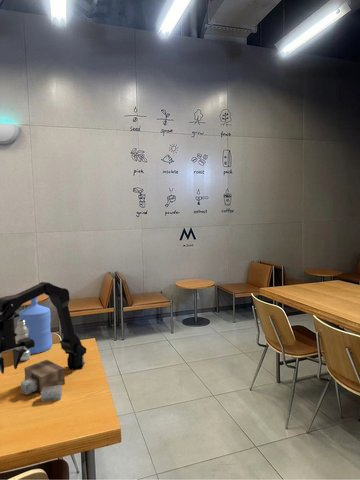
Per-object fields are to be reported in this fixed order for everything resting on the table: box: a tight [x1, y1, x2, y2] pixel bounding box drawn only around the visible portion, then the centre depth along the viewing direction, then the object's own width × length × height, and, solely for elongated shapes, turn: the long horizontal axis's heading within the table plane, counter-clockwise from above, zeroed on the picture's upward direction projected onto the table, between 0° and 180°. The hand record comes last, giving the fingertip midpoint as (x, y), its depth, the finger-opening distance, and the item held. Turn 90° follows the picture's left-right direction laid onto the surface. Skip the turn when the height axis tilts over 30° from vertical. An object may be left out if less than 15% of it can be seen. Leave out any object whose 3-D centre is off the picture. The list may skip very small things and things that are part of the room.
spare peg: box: [40, 385, 63, 403], centre depth 129 cm, size 7×4×4 cm, turn 103°
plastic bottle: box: [15, 319, 32, 362], centre depth 164 cm, size 6×7×20 cm
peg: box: [20, 377, 39, 396], centre depth 134 cm, size 7×4×4 cm, turn 141°
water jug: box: [18, 297, 53, 355], centre depth 178 cm, size 16×16×28 cm
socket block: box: [23, 359, 66, 394], centre depth 140 cm, size 10×14×7 cm
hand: (9, 371), depth 126 cm, fingers open, 4 cm apart
